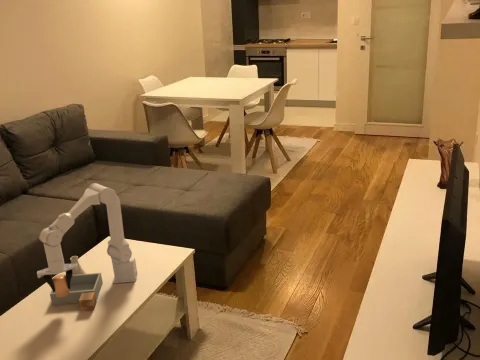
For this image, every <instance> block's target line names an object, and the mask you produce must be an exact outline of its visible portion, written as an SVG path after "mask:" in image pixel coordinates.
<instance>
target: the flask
mask: <svg viewBox="0 0 480 360" xmlns="http://www.w3.org/2000/svg"><path fill="white" fill-rule="evenodd" d="M69 260H70V262H71V263H70V264H75V263H77V266H78V270H72V272H73V274H72V275H79V274H87V273H86V272H85V270H84V269H83V267H82V265H81V264H80V262H79V256H77V255H74V256H73V255H72V256H71V257H70V258H69Z"/></svg>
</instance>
